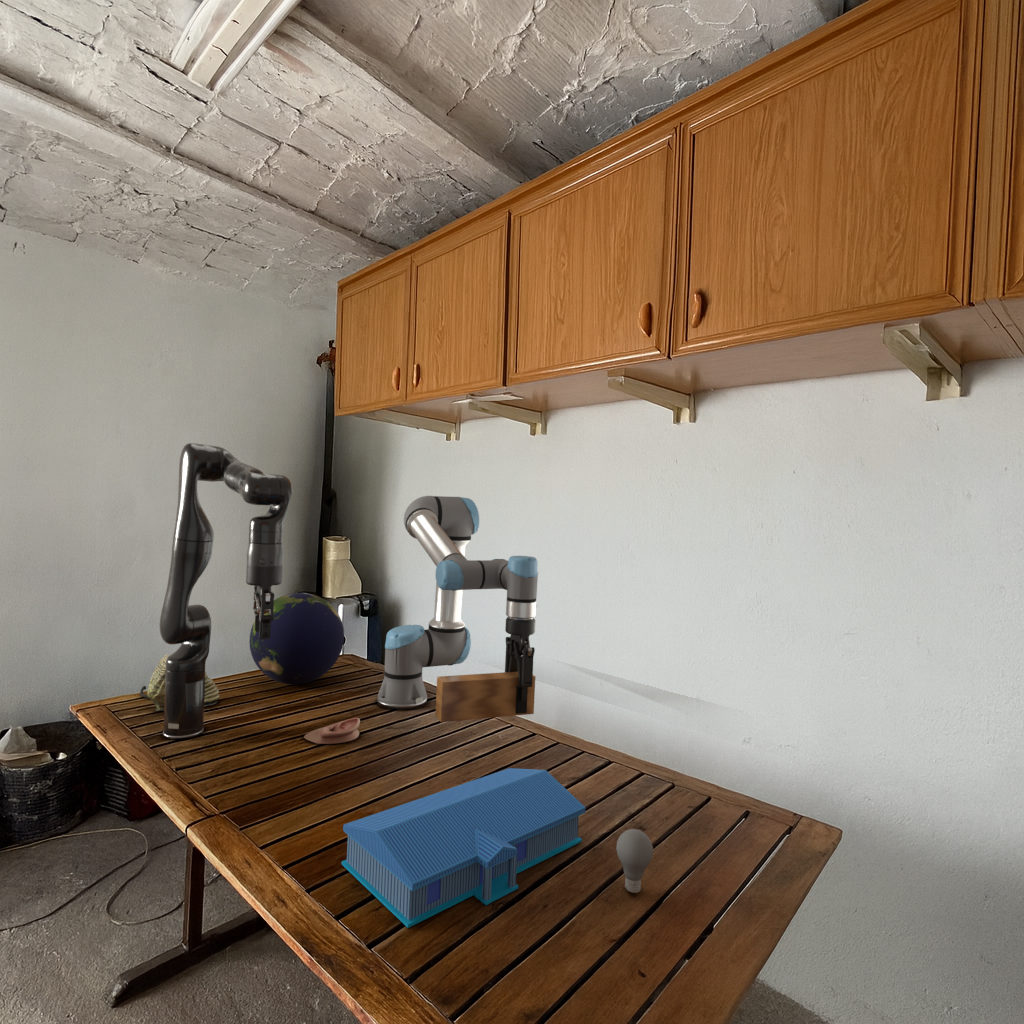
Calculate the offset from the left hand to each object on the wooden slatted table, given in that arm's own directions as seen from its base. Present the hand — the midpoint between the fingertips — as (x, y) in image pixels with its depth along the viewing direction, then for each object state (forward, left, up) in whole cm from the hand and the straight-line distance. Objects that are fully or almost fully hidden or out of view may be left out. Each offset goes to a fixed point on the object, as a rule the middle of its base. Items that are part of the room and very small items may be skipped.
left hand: (262, 635), depth 142 cm
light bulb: (+80, +31, -32) cm, 92 cm away
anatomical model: (-10, +24, -32) cm, 41 cm away
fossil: (-57, +1, -32) cm, 65 cm away
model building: (+56, +17, -32) cm, 66 cm away
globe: (-60, +37, -32) cm, 78 cm away
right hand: (+27, +54, -20) cm, 64 cm away
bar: (+24, +46, -21) cm, 56 cm away
